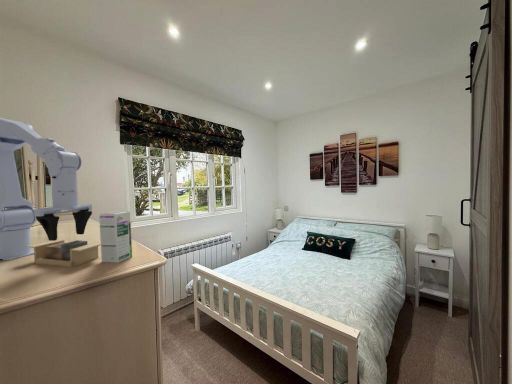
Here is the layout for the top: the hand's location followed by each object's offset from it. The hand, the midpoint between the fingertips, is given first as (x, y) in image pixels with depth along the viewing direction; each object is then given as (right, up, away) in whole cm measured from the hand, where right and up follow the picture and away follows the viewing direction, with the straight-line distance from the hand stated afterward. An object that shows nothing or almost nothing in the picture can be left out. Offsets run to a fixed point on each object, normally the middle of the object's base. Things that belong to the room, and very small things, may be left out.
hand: (67, 237), depth 65 cm
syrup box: (+14, -7, +1) cm, 16 cm away
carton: (0, -7, 0) cm, 7 cm away
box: (0, -7, 0) cm, 7 cm away
